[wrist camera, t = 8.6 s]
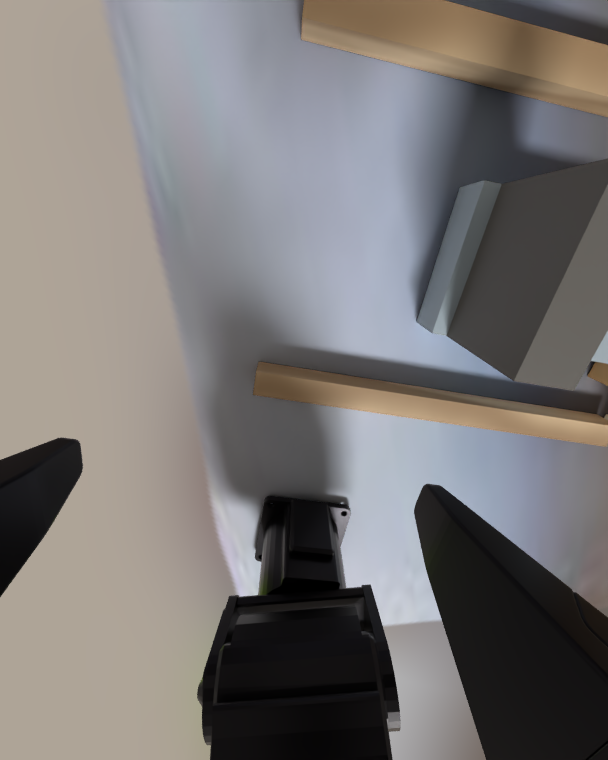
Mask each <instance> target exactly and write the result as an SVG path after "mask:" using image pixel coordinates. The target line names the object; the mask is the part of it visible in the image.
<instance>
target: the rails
mask: <svg viewBox="0 0 608 760" xmlns="http://www.w3.org/2000/svg"><path fill="white" fill-rule="evenodd" d="M301 40H305V41H309V42H312V43H316V44H320V45H324V46H328V47H332V48H336V49H340V50H344V51H348V52H352V53H356V54H360V55H364V56H368V57H372V58H376V59H380V60H384V61H388V62H392V63H396V64H399V65H403V66H407V67H411V68H415V69H419V70H423V71H427V72H431V73H435V74H439V75H443V76H447V77H451V78H455V79H459V80H463V81H467V82H471V83H475V84H479V85H482V86H486V87H490V88H494V89H498V90H502V91H506V92H510V93H514V94H518V95H522V96H526V97H530V98H534V99H538V100H542V101H546V102H550V103H554V104H558V105H562V106H565V107H569V108H573V109H577V110H581V111H585V112H589V113H593V114H597V115H601V116H605V117H608V45H605V44H601V43H597V42H594V41H590V40H586V39H583V38H579V37H576V36H572V35H568V34H565V33H561V32H557V31H554V30H550V29H547V28H543V27H539V26H536V25H532V24H529V23H525V22H521V21H518V20H514V19H510V18H507V17H503V16H500V15H496V14H492V13H489V12H485V11H481V10H478V9H474V8H471V7H467V6H463V5H460V4H456V3H452V2H449V1H445V0H304V6H303V14H302V33H301ZM253 395H257V396H264V397H271V398H278V399H284V400H291V401H298V402H305V403H312V404H318V405H325V406H332V407H339V408H346V409H353V410H359V411H366V412H373V413H380V414H387V415H394V416H400V417H407V418H414V419H421V420H428V421H434V422H441V423H448V424H455V425H462V426H469V427H475V428H482V429H489V430H496V431H503V432H510V433H516V434H523V435H530V436H537V437H544V438H551V439H557V440H564V441H571V442H578V443H585V444H591V445H598V446H605V447H606V446H607V444H608V420H606V419H604V418H603V417H601V416H599V415H597V414H591V413H585V412H579V411H572V410H566V409H559V408H553V407H547V406H540V405H534V404H527V403H521V402H515V401H508V400H502V399H495V398H489V397H483V396H476V395H470V394H463V393H457V392H451V391H444V390H438V389H432V388H425V387H419V386H412V385H406V384H400V383H393V382H387V381H380V380H374V379H368V378H361V377H355V376H348V375H342V374H336V373H329V372H323V371H316V370H310V369H304V368H297V367H291V366H285V365H278V364H272V363H265V362H258V366H257V370H256V375H255V383H254V390H253Z"/></svg>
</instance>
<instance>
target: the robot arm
mask: <svg viewBox="0 0 608 760" xmlns="http://www.w3.org/2000/svg"><path fill="white" fill-rule="evenodd" d="M82 469H83V463H82V455H81V446H80V443H79V441H78V440H76V439H68V438H57V439H55V440H52V441H49V442H47V443H44V444H41V445H39V446H36V447H34V448H31V449H28V450H25V451H23V452H20V453H18V454H15V455H12V456H10V457H7V458H4V459H2V460H0V597H1V595H2V594H3V593H4V591H5V590H6V589H7V587H8V586H9V584H10V583H11V582H12V580H13V579H14V578H15V576H16V575H17V573H18V572H19V571H20V569H21V568H22V566H23V565H24V564H25V562H26V561H27V560H28V558H29V557H30V556H31V554H32V553H33V551H34V550H35V549H36V547H37V546H38V544H39V543H40V542H41V540H42V539H43V537H44V536H45V535H46V533H47V531H48V530H49V528H50V527H51V525H52V523H53V522H54V520H55V518H56V517H57V515H58V513H59V512H60V510H61V508H62V506H63V505H64V503H65V501H66V499H67V498H68V496H69V494H70V492H71V491H72V489H73V488H74V486H75V484H76V482H77V481H78V479H79V477H80V475H81V473H82ZM270 503H273V504H270ZM343 511H345V512H343ZM414 514H415V520H416V524H417V529H418V534H419V539H420V543H421V548H422V553H423V557H424V562H425V566H426V570H427V574H428V577H429V581H430V584H431V587H432V590H433V593H434V596H435V600H436V603H437V606H438V609H439V612H440V615H441V618H442V622H443V625H444V628H445V631H446V634H447V637H448V640H449V643H450V646H451V650H452V653H453V656H454V659H455V662H456V665H457V669H458V672H459V675H460V678H461V681H462V684H463V688H464V691H465V694H466V697H467V700H468V703H469V707H470V710H471V713H472V716H473V719H474V722H475V725H476V729H477V732H478V735H479V738H480V741H481V744H482V748H483V750H484V754H485V757H486V760H608V617H607V616H605V615H604V614H603V613H601V612H600V611H599V610H597V609H596V608H595V607H594V606H592V605H591V604H590V603H589V602H587V601H586V600H585V599H584V598H582V597H581V596H580V595H579V594H577V593H575V592H573V591H572V589H571V588H570V587H568V586H567V585H566V584H564V583H563V582H562V581H561V580H559V579H558V578H557V577H556V576H554V575H553V574H552V573H551V572H549V571H548V570H547V569H545V568H544V567H543V566H542V565H540V564H539V563H538V562H537V561H535V560H534V559H533V558H532V557H530V556H529V555H528V554H526V553H525V552H524V551H523V550H521V549H520V548H519V547H518V546H516V545H515V544H514V543H513V542H511V541H510V540H509V539H507V538H506V537H505V536H504V535H502V534H501V533H500V532H499V531H497V530H496V529H495V528H494V527H492V526H491V525H490V524H489V523H487V522H486V521H485V520H483V519H482V518H481V517H480V516H478V515H477V514H476V513H475V512H473V511H472V510H471V509H470V508H468V507H467V506H466V505H464V504H463V503H462V502H461V501H459V500H458V499H457V498H456V497H454V496H453V495H452V494H451V493H449V492H448V491H447V490H445V489H444V488H443V487H442V486H439V485H433V484H425V485H424V486H423V488H422V490H421V493H420V495H419V497H418V500H417V502H416V505H415V509H414ZM350 515H351V512H350V508H349V506H347V505H344V504H335V503H327V502H318V501H310V500H301V499H293V498H284V497H276V496H268V497H266V498H265V500H264V506H263V511H262V517H261V523H260V529H259V535H258V541H257V547H256V553H255V559H256V560H257V561H261V572H260V582H259V592H258V595H255V596H243V597H239V595H235V596H229V599H228V602H227V605H226V608H225V609H224V611H223V614H222V616H221V620H220V623H219V626H218V629H217V632H216V635H215V638H214V641H213V645H212V648H211V651H210V654H209V657H208V660H207V663H206V667H205V669H204V674H203V678H202V680H201V682H200V684H199V687H198V694H197V695H198V696H197V698H198V700H199V702H200V704H201V705H202V729H203V737H204V740H205V743H206V744H207V745H211V754H210V760H392V754H391V746H390V739H389V731H400V710H399V702H398V694H397V687H396V682H395V675H394V670H393V665H392V661H391V656H390V651H389V648H388V644H387V640H386V637H385V633H384V630H383V626H382V623H381V619H380V616H379V612H378V609H377V605H376V602H375V598H374V595H373V591H372V588H371V585H362V587H355V588H346V583H345V576H344V569H343V562H342V555H341V548H340V546H341V543H342V540H343V537H344V534H345V531H346V527H347V524H348V521H349V518H350Z"/></svg>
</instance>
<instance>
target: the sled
mask: <svg viewBox="0 0 608 760" xmlns="http://www.w3.org/2000/svg"><path fill="white" fill-rule="evenodd" d="M417 323H419V324H420V325H421V326H423V327H424V328H425V329H427V330H428V331H430V332H431V333H433V334H439V335H445V336H448V337H449V338H451V339H452V340H453V341H455V342H456V343H458V344H459V345H461V346H462V347H464V348H465V349H467V350H468V351H470V352H471V353H473V354H474V355H476V356H477V357H479V358H480V359H482V360H483V361H485V362H486V363H488V364H489V365H491V366H492V367H494V368H495V369H497V370H498V371H500V372H501V373H503V374H504V375H506V376H507V377H508V378H510V379H511V380H513V381H516V382H522V383H528V384H535V385H541V386H547V387H553V388H559V389H565V390H571V391H574V390H575V388H576V386H577V384H578V383H579V381H580V379H581V377H582V375H583V374H584V372H585V370H586V368H587V367H588V365H589V363H590V361H595V364H594V365H593V367H592V369H591V371H590V372H589V374H588V377H590V378H592V379H594V380H596V381H598V382H601V383H603V384H605V385H607V386H608V159H604V160H600V161H596V162H591V163H587V164H583V165H579V166H575V167H571V168H566V169H562V170H558V171H554V172H550V173H546V174H541V175H537V176H533V177H529V178H525V179H520V180H516V181H512V182H508V183H504V184H500V183H495V182H491V181H486V180H484V181H480V182H477V183H473V184H469V185H466V186H462V187H460V188H459V191H458V194H457V197H456V201H455V204H454V207H453V210H452V213H451V216H450V219H449V222H448V226H447V229H446V232H445V235H444V238H443V241H442V244H441V247H440V250H439V254H438V257H437V260H436V263H435V266H434V269H433V272H432V275H431V278H430V282H429V285H428V288H427V291H426V294H425V297H424V300H423V303H422V307H421V310H420V313H419V316H418V319H417Z"/></svg>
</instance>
